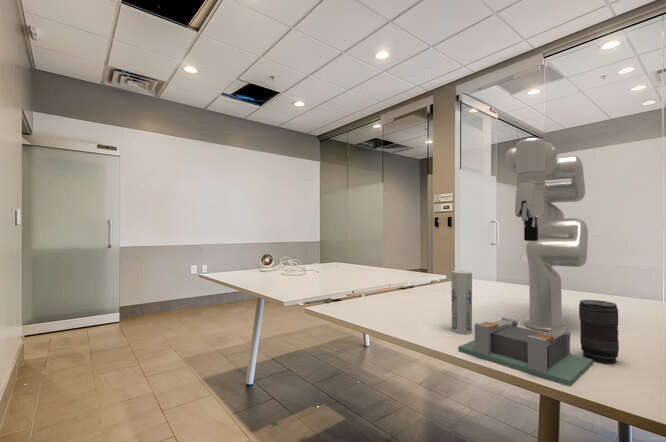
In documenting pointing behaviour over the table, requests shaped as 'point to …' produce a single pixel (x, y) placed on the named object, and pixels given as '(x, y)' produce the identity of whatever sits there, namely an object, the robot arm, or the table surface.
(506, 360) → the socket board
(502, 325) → the strap
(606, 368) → the table surface
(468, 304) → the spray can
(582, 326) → the camera lens
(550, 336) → the strap
